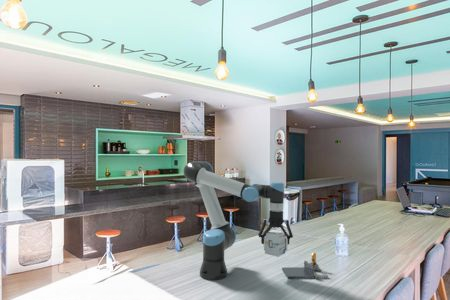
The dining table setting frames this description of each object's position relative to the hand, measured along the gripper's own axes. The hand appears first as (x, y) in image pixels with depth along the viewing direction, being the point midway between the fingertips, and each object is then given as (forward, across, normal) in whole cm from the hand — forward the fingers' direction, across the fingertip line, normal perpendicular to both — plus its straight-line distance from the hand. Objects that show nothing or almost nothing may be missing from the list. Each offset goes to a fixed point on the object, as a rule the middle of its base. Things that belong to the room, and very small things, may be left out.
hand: (275, 250), depth 169 cm
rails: (+13, +25, +3) cm, 28 cm away
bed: (+14, +13, +2) cm, 19 cm away
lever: (+13, +25, +8) cm, 29 cm away
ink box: (+2, 0, 0) cm, 2 cm away
